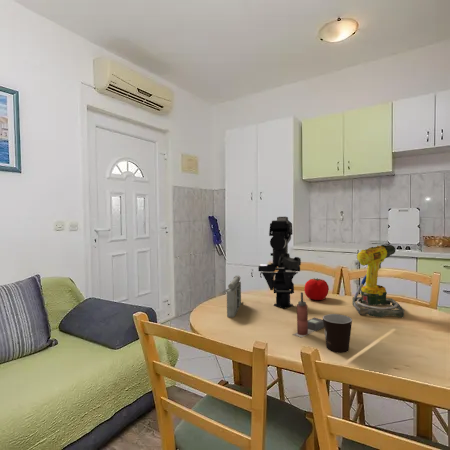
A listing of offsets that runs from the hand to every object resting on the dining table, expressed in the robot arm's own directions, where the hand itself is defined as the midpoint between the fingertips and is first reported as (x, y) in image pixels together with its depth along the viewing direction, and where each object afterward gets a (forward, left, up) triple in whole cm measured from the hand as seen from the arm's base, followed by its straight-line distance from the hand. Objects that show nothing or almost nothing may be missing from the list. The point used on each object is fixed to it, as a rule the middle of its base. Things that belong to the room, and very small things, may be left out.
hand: (279, 289), depth 127 cm
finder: (0, +16, -11) cm, 20 cm away
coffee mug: (+9, +30, -12) cm, 33 cm away
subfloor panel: (+4, +11, -12) cm, 17 cm away
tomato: (-35, -5, -12) cm, 38 cm away
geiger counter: (+3, -24, -12) cm, 27 cm away
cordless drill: (-38, +23, -12) cm, 46 cm away
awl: (+8, +16, -11) cm, 21 cm away
